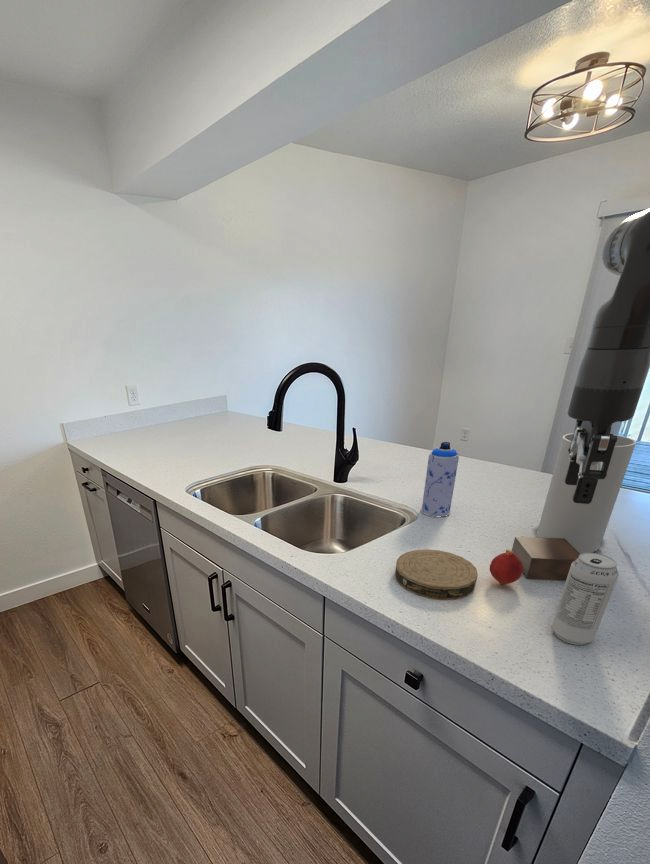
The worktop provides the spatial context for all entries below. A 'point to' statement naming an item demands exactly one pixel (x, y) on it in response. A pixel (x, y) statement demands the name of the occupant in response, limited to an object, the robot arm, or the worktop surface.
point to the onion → (506, 568)
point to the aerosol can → (440, 481)
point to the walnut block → (545, 557)
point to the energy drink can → (585, 598)
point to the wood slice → (436, 574)
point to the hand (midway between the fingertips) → (576, 493)
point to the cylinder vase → (583, 520)
